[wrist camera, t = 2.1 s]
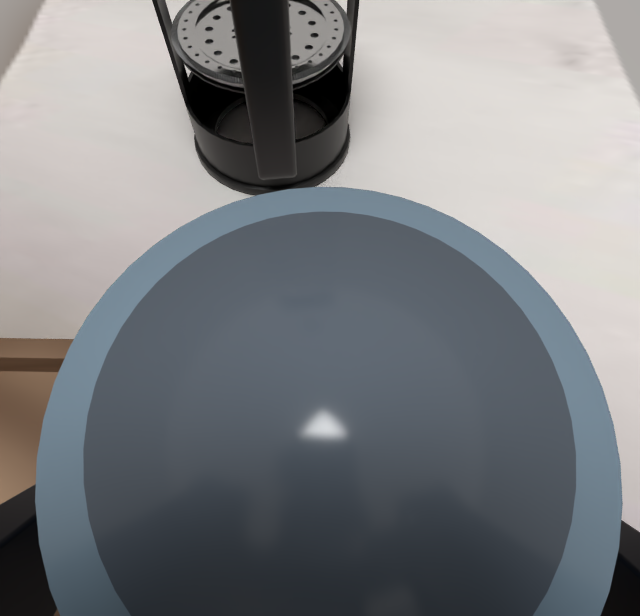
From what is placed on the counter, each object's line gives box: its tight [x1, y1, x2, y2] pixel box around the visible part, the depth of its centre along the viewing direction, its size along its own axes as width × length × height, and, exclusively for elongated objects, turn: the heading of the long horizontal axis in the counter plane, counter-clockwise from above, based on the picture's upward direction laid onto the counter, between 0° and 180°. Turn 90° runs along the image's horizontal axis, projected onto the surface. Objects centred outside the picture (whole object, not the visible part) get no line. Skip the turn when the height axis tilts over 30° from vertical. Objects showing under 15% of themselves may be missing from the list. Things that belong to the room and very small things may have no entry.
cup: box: [35, 187, 622, 616], centre depth 10 cm, size 6×6×13 cm
